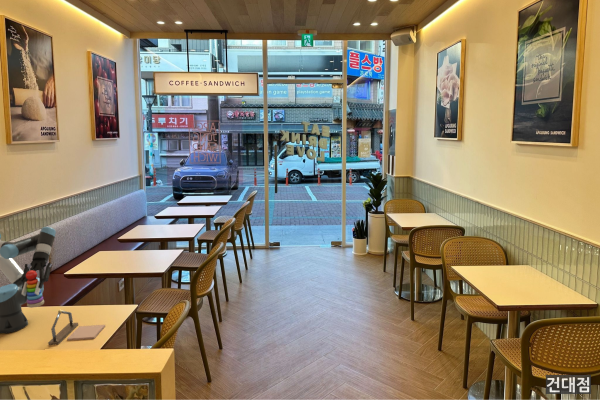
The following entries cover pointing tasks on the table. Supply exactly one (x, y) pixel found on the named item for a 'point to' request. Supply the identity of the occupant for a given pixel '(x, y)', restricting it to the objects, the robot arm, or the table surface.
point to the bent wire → (65, 331)
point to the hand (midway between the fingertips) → (30, 294)
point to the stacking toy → (33, 290)
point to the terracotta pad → (86, 332)
